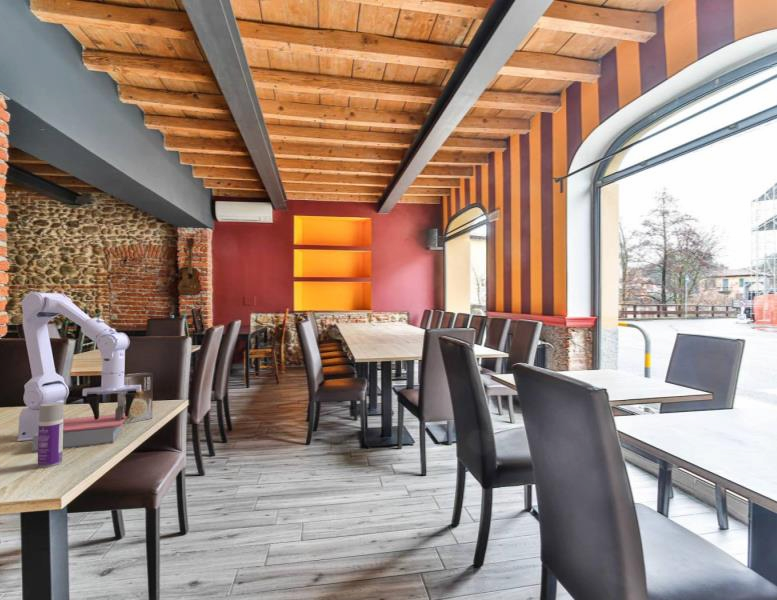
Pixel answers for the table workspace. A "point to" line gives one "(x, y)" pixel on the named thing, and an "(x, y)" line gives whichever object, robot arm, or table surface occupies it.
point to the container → (50, 434)
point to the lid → (95, 421)
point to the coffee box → (138, 397)
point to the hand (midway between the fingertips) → (112, 417)
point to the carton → (85, 437)
